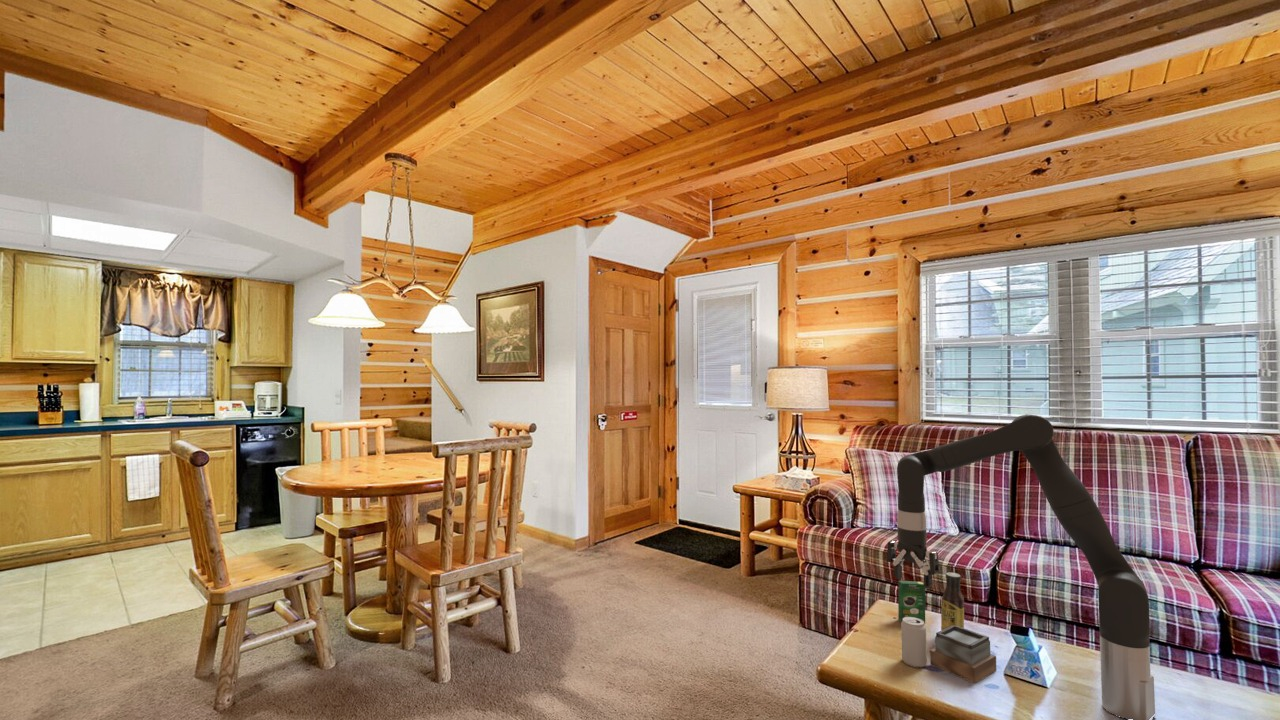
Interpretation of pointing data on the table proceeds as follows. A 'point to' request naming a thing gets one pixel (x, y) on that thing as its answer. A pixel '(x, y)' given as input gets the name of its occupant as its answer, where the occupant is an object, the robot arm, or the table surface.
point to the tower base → (963, 666)
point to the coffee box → (911, 600)
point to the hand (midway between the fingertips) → (912, 583)
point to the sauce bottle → (952, 602)
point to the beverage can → (914, 642)
